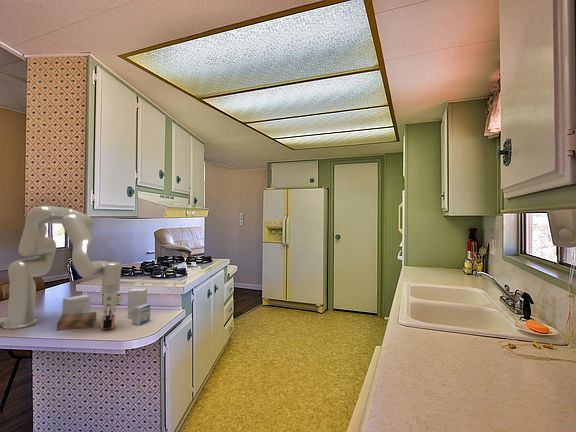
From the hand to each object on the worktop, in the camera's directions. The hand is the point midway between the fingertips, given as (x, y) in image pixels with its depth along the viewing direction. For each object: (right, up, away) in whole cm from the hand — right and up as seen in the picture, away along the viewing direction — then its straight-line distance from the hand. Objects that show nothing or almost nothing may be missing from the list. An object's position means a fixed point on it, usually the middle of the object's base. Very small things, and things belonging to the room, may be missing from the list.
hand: (107, 325), depth 140 cm
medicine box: (+11, -2, +10) cm, 15 cm away
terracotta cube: (0, -1, 0) cm, 1 cm away
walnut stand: (-17, -1, +3) cm, 17 cm away
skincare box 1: (-27, -1, +15) cm, 31 cm away
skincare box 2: (+4, -3, +20) cm, 20 cm away
